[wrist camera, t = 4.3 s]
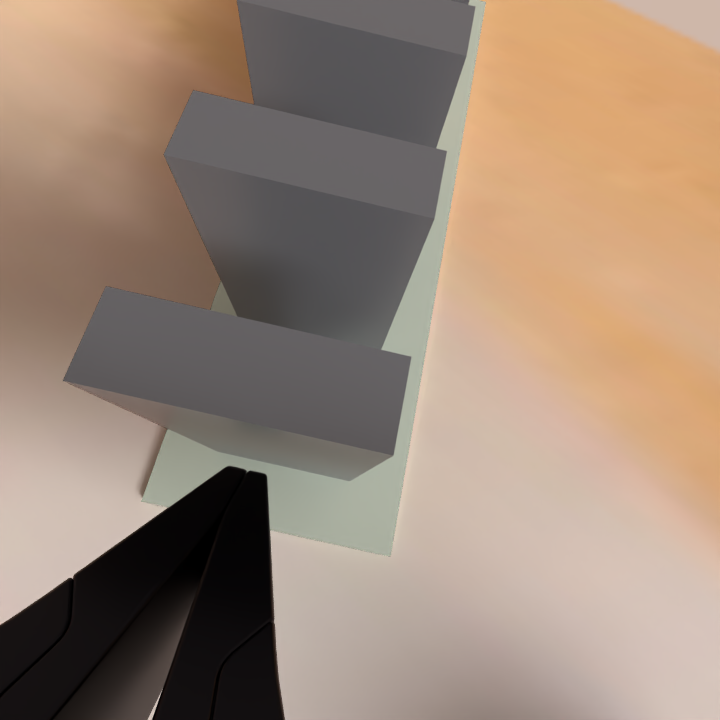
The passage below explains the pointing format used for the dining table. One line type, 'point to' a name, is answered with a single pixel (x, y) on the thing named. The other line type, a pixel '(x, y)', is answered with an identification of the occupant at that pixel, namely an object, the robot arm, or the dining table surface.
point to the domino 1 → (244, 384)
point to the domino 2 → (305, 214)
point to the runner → (385, 481)
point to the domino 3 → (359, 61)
